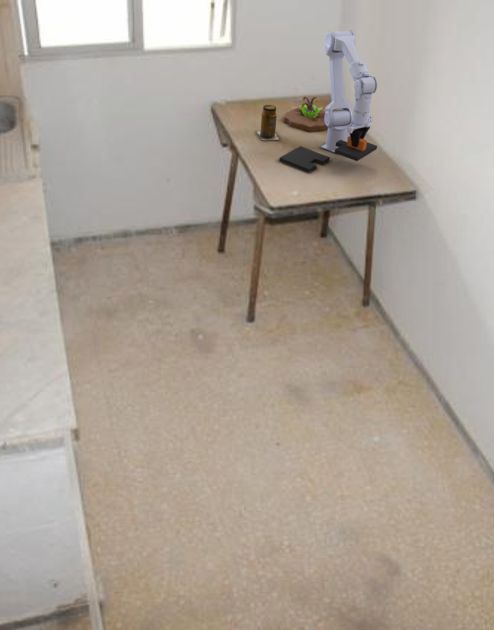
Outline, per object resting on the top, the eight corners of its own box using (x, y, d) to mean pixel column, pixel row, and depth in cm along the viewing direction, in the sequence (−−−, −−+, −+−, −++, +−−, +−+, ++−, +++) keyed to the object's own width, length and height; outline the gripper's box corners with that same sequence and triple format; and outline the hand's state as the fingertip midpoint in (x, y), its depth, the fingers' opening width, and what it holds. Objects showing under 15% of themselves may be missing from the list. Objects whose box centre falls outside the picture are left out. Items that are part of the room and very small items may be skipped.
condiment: (273, 131, 298) (276, 103, 291) (279, 139, 291) (281, 111, 284) (256, 132, 296) (258, 103, 289) (261, 140, 290) (263, 112, 283)
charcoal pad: (347, 139, 280) (349, 126, 276) (376, 149, 273) (378, 136, 270) (327, 150, 271) (329, 138, 268) (357, 161, 265) (359, 148, 262)
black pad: (300, 149, 285) (300, 146, 284) (329, 160, 279) (330, 157, 278) (279, 161, 277) (279, 157, 276) (308, 172, 270) (309, 169, 269)
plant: (312, 135, 296) (315, 109, 289) (276, 120, 306) (278, 95, 300) (342, 122, 308) (345, 97, 301) (307, 108, 318) (309, 83, 311)
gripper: (360, 119, 255) (355, 154, 263) (381, 107, 264) (375, 142, 273) (343, 113, 258) (339, 148, 267) (364, 102, 267) (359, 136, 276)
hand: (356, 145), depth 270 cm, fingers closed on charcoal pad, 2 cm apart
